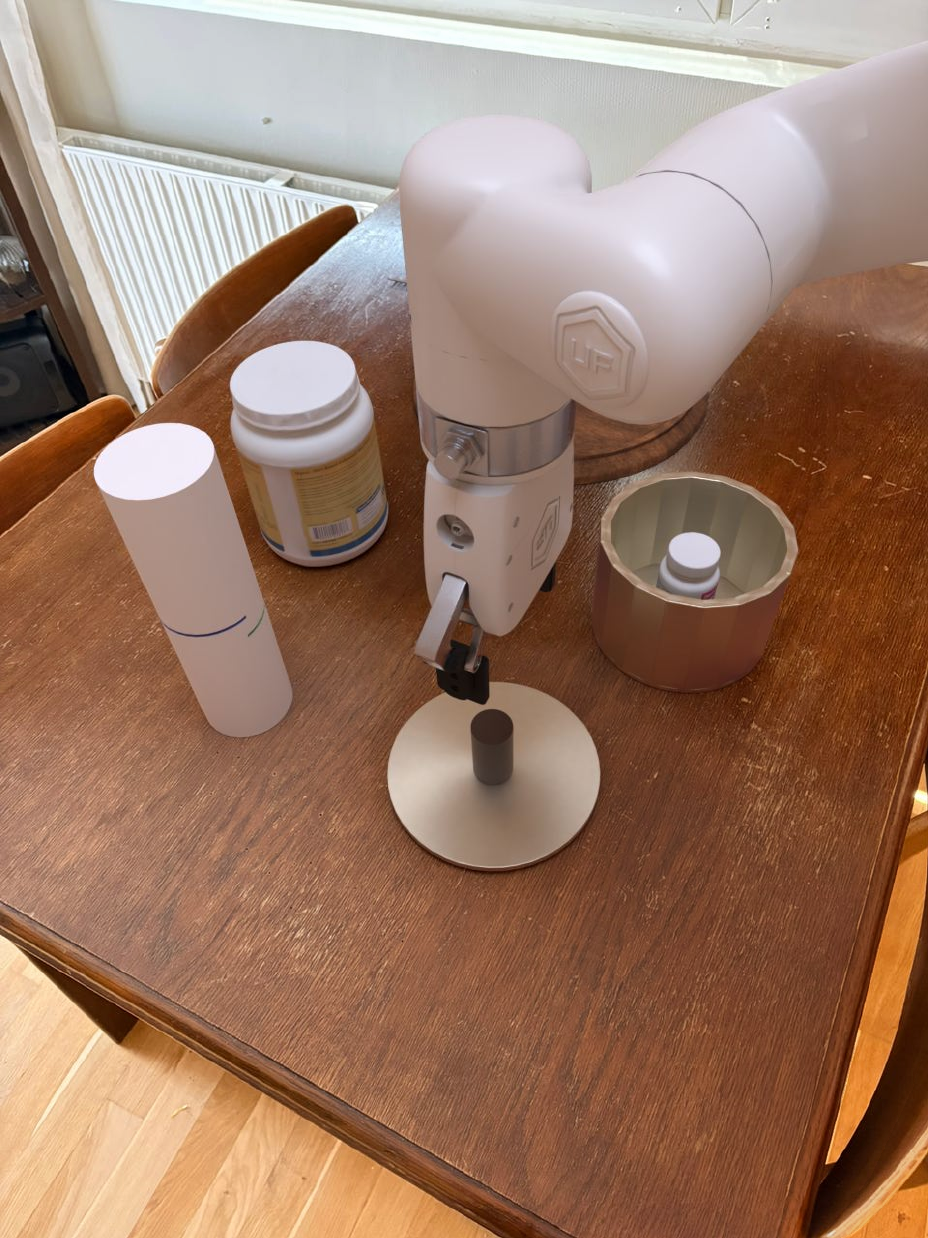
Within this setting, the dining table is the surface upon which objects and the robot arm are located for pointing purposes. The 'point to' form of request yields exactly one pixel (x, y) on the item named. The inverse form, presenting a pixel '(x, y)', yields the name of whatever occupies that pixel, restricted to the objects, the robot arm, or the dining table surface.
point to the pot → (677, 625)
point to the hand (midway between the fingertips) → (498, 635)
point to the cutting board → (624, 442)
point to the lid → (494, 778)
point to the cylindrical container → (197, 572)
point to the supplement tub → (309, 452)
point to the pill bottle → (690, 567)
